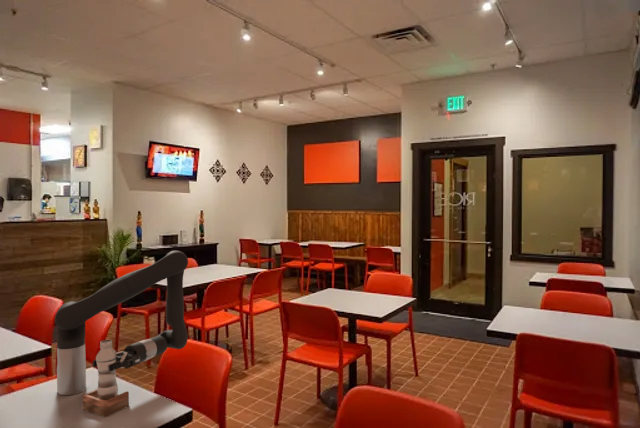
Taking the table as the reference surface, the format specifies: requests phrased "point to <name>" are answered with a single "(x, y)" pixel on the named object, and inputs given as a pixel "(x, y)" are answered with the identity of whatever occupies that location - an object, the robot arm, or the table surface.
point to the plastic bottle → (106, 371)
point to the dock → (104, 403)
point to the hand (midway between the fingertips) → (101, 366)
